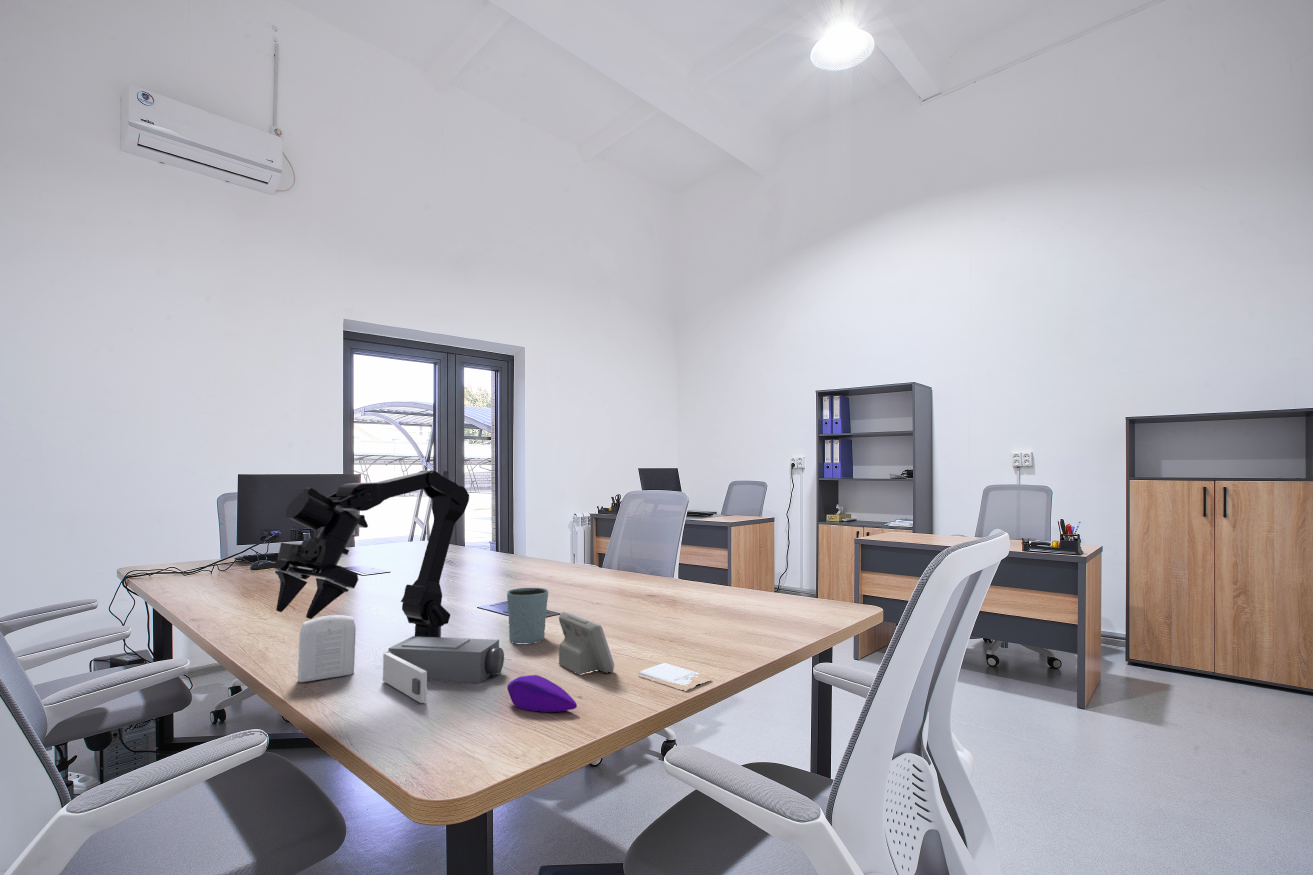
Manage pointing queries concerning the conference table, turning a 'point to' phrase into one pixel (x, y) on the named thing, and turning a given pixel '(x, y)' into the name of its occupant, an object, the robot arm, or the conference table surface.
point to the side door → (405, 677)
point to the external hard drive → (669, 673)
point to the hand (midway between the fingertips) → (293, 614)
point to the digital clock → (583, 645)
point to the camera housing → (452, 657)
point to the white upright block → (326, 648)
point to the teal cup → (527, 614)
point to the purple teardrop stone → (539, 695)
